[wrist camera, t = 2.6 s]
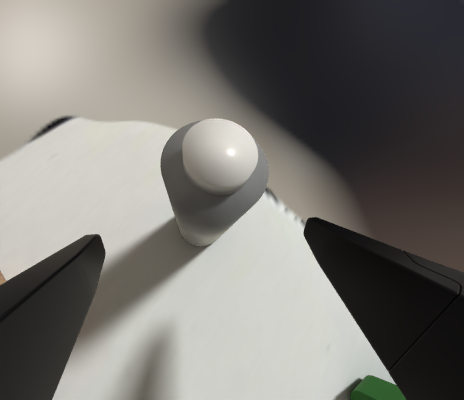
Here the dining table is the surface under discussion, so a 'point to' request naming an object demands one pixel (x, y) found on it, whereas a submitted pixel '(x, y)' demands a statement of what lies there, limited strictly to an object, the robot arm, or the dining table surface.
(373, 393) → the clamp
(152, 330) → the dining table surface
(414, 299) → the robot arm
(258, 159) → the white rounded cylinder
